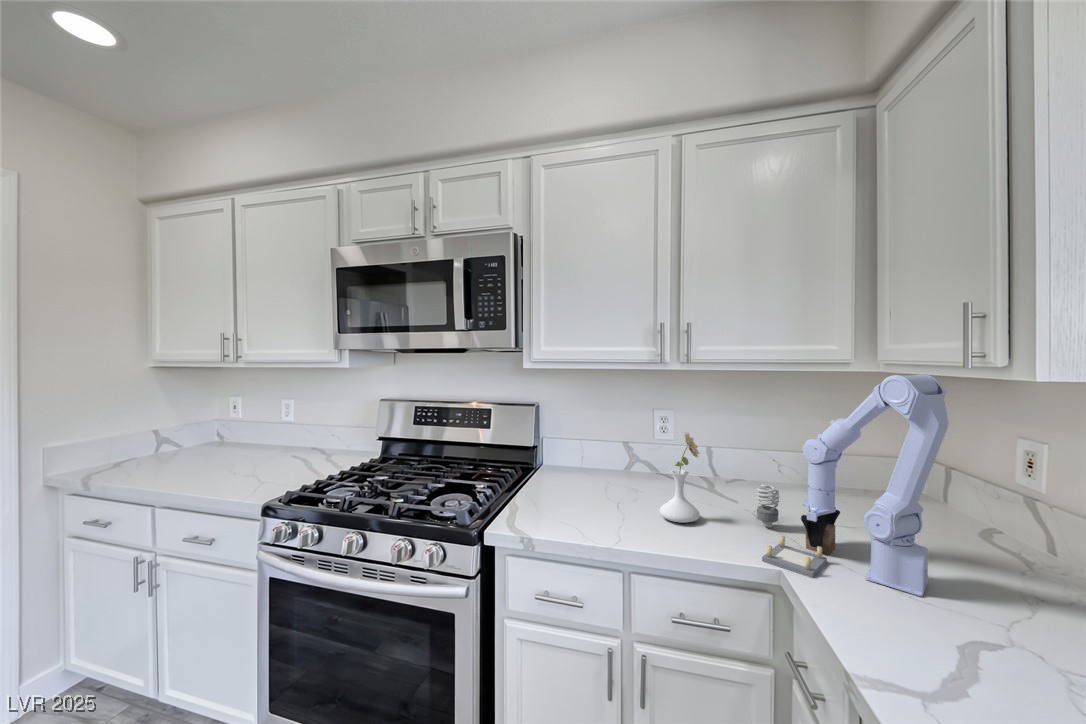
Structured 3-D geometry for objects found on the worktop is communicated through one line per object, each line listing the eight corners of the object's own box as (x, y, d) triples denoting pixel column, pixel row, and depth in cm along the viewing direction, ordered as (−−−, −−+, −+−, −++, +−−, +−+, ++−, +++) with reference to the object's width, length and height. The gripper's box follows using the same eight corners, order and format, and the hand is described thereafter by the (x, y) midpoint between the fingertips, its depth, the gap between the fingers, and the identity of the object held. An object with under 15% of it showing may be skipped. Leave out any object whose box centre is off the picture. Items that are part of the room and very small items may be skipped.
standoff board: (826, 562, 103) (827, 547, 103) (812, 577, 96) (812, 561, 96) (778, 547, 111) (779, 533, 111) (762, 561, 104) (762, 546, 104)
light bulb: (751, 525, 125) (751, 482, 124) (766, 522, 127) (767, 480, 126) (768, 533, 119) (768, 488, 119) (783, 530, 121) (784, 486, 121)
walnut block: (835, 549, 110) (835, 525, 110) (828, 555, 107) (829, 530, 106) (812, 543, 114) (812, 519, 113) (805, 548, 110) (806, 524, 110)
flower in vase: (685, 529, 122) (686, 438, 121) (651, 517, 131) (651, 432, 130) (710, 518, 130) (711, 433, 129) (676, 507, 139) (677, 427, 138)
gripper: (812, 478, 117) (811, 529, 118) (793, 490, 108) (792, 545, 108) (844, 484, 112) (843, 537, 113) (826, 497, 102) (825, 555, 103)
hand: (820, 542), depth 110 cm, fingers open, 7 cm apart
